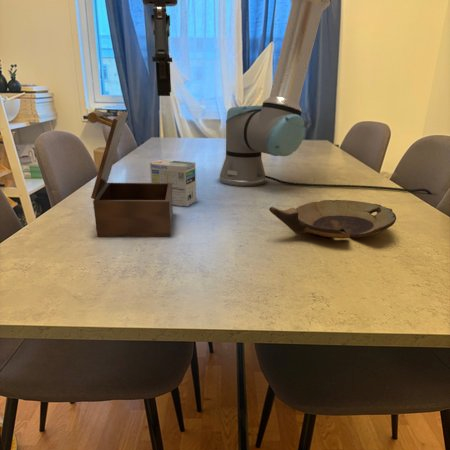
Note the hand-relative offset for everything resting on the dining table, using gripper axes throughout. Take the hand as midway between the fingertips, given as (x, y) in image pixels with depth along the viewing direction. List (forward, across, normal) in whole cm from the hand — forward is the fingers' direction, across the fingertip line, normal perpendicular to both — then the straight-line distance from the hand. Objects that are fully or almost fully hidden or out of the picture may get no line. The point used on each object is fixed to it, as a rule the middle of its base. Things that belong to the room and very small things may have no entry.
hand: (164, 94), depth 101 cm
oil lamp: (+28, +20, +36) cm, 50 cm away
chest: (+27, +14, -8) cm, 31 cm away
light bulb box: (+28, -6, +1) cm, 28 cm away
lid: (+11, +14, -12) cm, 21 cm away
